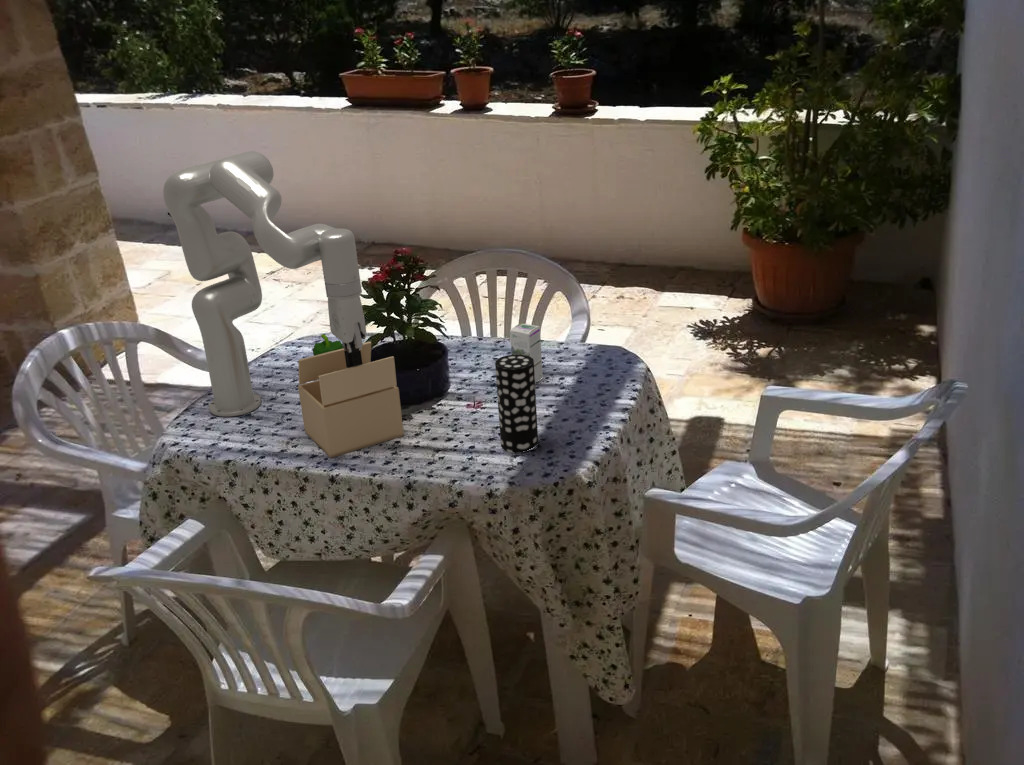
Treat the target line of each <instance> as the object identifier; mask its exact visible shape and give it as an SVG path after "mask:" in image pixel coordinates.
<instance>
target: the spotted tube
mask: <svg viewBox="0 0 1024 765" xmlns="http://www.w3.org/2000/svg"><path fill="white" fill-rule="evenodd" d="M494 365H495V366H494V367H495V380H496V381H495V382H496V393H497V406H498V407H497V408H498V409H497V411H498V422H499V434H500V435H499V436H500V438H499V439H500V448H501V447H502V448H501V449H502V450H503V449H504V450H503V451H505V452H507V451H508V453H510V452H515V453H514V454H517V453H516V452H523V451H527V450H529V449H531V448H533V447H535V446H536V445H537V444H538V445H539V434H538V433H539V432H538V414H537V411H538V410H537V396H536V394H537V393H536V384H535V373H534V360H533V358H531V357H530V356H527V355H520V354H514V355H512V354H507V355H503V356H501V357H499V358H496V360H495V362H494Z"/></svg>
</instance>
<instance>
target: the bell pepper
mask: <svg viewBox="0 0 1024 765" xmlns="http://www.w3.org/2000/svg"><path fill="white" fill-rule="evenodd" d="M320 337H321V338H322V339H323V341H321V342H315V343H314V346H313V348H312V355H313V356H315V355H319V354H323V353H327V352H331V351H335V350H339V349H343V344H342V341H341V340H334V341H331V340H329V338H328V336H327V335H326V334H323V333H322V334H321V335H320Z"/></svg>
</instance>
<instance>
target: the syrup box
mask: <svg viewBox="0 0 1024 765" xmlns="http://www.w3.org/2000/svg"><path fill="white" fill-rule="evenodd" d="M509 338H510V352H511V354H510V355H514V354H520V355H527V356H530V357H531V358H533V360H534V373H535V382H537V381H538V380H540V379H541V378H542V377H543V378H544V375H543V373H544V372H543V361H542V360H543V359H542V357H543V356H542V343H541V342H542V341H541V340H542V339H541V338H542V336H541V326H540V325H536V324H535V325H533V324H528V323H521V322H520V323H519V324H516V325H515V326H514V327H512V328H511V329H510V330H509ZM540 381H541V380H540Z"/></svg>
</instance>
